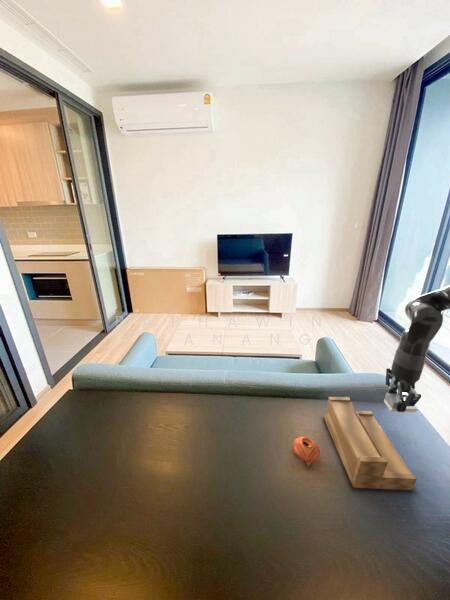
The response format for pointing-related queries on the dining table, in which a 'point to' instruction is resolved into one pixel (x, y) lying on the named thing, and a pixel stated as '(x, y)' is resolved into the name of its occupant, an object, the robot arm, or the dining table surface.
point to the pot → (306, 449)
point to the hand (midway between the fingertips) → (395, 405)
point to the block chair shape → (396, 402)
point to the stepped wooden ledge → (365, 448)
